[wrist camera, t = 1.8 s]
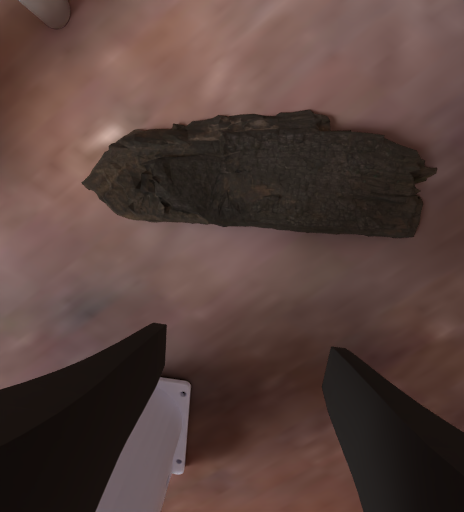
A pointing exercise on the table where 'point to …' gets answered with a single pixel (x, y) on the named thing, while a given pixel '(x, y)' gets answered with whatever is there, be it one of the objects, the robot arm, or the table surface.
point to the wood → (264, 176)
